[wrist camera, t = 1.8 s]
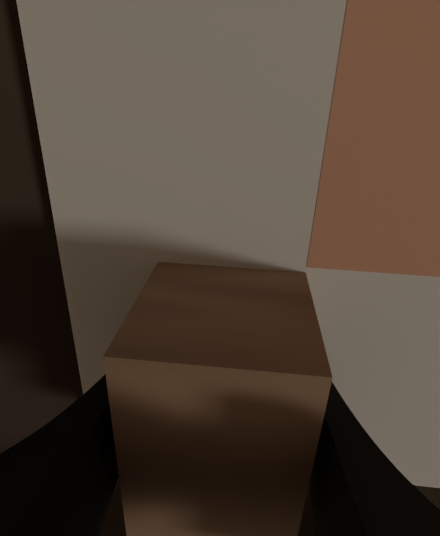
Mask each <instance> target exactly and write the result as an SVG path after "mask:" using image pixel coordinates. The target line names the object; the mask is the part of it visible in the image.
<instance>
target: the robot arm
mask: <svg viewBox="0 0 440 536" xmlns="http://www.w3.org/2000/svg"><path fill="white" fill-rule="evenodd" d="M118 477H119V474H118V467H117V459H116V451H115V443H114V436H113V428H112V420H111V413H110V405H109V397H108V390H107V382H106V374H105V375H104V376H103V377H102V378H101V379H100V380H98V381H97V382H96V383H95V384H94V385H93V386H92V387H91V388H90V389H89V390H88V391H87V392H85V393H84V394H83V395H82V396H81V397H80V398H79V399H77V400H76V401H75V402H74V403H73V404H71V405H70V406H69V407H68V408H67V409H66V410H64V411H63V412H62V413H60V414H59V415H58V416H57V417H55V418H54V419H53V420H51V421H50V422H49V423H47V424H46V425H45V426H43V427H42V428H40V429H39V430H38V431H36V432H35V433H33V434H32V435H30V436H28V437H27V438H25V439H24V440H22V441H20V442H19V443H17V444H16V445H14V446H13V447H11V448H9V449H8V450H6V451H4V452H3V453H1V454H0V536H99V535H100V532H101V528H102V525H103V522H104V518H105V515H106V512H107V508H108V505H109V502H110V498H111V496H112V493H113V490H114V487H115V484H116V482H117V479H118ZM309 488H310V493H311V499H312V505H313V511H314V518H315V527H316V536H440V510H439V509H438V508H437V507H436V506H435V505H434V504H433V503H431V502H430V501H429V500H428V499H427V498H426V497H425V496H424V495H423V494H422V493H421V492H420V491H419V490H418V489H417V488H416V487H415V486H414V485H413V484H412V483H411V482H410V481H409V480H408V479H407V478H406V477H405V476H404V475H403V474H402V473H401V472H400V471H399V470H398V469H397V468H396V467H395V466H394V464H393V463H392V462H391V461H390V460H389V459H388V458H387V457H386V455H385V454H384V453H383V452H382V451H381V450H380V448H379V447H378V446H377V445H376V444H375V442H374V441H373V440H372V438H371V437H370V436H369V435H368V433H367V432H366V431H365V429H364V428H363V427H362V425H361V424H360V423H359V421H358V420H357V418H356V417H355V416H354V414H353V413H352V411H351V410H350V409H349V407H348V406H347V404H346V403H345V401H344V400H343V398H342V396H341V395H340V393H339V392H338V390H337V389H336V387H335V385H334V384H333V382H332V383H331V387H330V392H329V396H328V401H327V405H326V410H325V414H324V419H323V424H322V428H321V433H320V437H319V442H318V446H317V451H316V455H315V460H314V464H313V469H312V473H311V478H310V483H309Z"/></svg>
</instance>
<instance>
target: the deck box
mask: <svg viewBox="0 0 440 536" xmlns="http://www.w3.org/2000/svg"><path fill="white" fill-rule="evenodd" d="M103 359H104V367H105V374H106V382H107V390H108V397H109V405H110V413H111V420H112V428H113V436H114V443H115V451H116V459H117V467H118V474H119V482H120V490H121V497H122V505H123V513H124V520H125V528H126V536H298V532H299V528H300V523H301V519H302V514H303V510H304V505H305V501H306V496H307V492H308V487H309V483H310V478H311V473H312V469H313V464H314V460H315V455H316V451H317V446H318V442H319V437H320V433H321V428H322V424H323V419H324V414H325V410H326V405H327V401H328V396H329V392H330V387H331V383H332V378H333V377H332V373H331V369H330V365H329V361H328V358H327V354H326V350H325V346H324V342H323V338H322V334H321V330H320V326H319V322H318V319H317V315H316V311H315V307H314V303H313V299H312V295H311V291H310V287H309V283H308V280H307V276H306V273H305V272H291V271H278V270H264V269H250V268H236V267H223V266H209V265H195V264H181V263H168V262H158V263H157V265H156V266H155V268H154V270H153V271H152V273H151V275H150V277H149V278H148V280H147V282H146V284H145V285H144V287H143V289H142V290H141V292H140V294H139V296H138V297H137V299H136V301H135V303H134V304H133V306H132V308H131V309H130V311H129V313H128V315H127V316H126V318H125V320H124V322H123V323H122V325H121V327H120V328H119V330H118V332H117V334H116V335H115V337H114V339H113V341H112V342H111V344H110V346H109V347H108V349H107V351H106V353H105V354H104V356H103Z"/></svg>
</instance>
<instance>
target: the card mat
mask: <svg viewBox="0 0 440 536" xmlns="http://www.w3.org/2000/svg"><path fill="white" fill-rule="evenodd" d="M16 2H17V8H18V14H19V20H20V26H21V31H22V37H23V43H24V49H25V55H26V61H27V67H28V73H29V79H30V84H31V90H32V96H33V102H34V108H35V114H36V120H37V126H38V132H39V137H40V143H41V149H42V155H43V161H44V167H45V173H46V179H47V184H48V190H49V196H50V202H51V208H52V214H53V220H54V226H55V232H56V237H57V243H58V249H59V255H60V261H61V267H62V273H63V279H64V285H65V290H66V296H67V302H68V308H69V314H70V320H71V326H72V332H73V338H74V343H75V349H76V355H77V361H78V367H79V373H80V379H81V385H82V390H83V394H84V393H85V392H87V391H88V390H89V389H90V388H91V387H92V386H93V385H94V384H95V383H96V382H97V381H98V380H100V379H101V378H102V377H103V376H104V375H105V367H104V359H103V356H104V354H105V353H106V351H107V349H108V347H109V346H110V344H111V342H112V341H113V339H114V337H115V335H116V334H117V332H118V330H119V328H120V327H121V325H122V323H123V322H124V320H125V318H126V316H127V315H128V313H129V311H130V309H131V308H132V306H133V304H134V303H135V301H136V299H137V297H138V296H139V294H140V292H141V290H142V289H143V287H144V285H145V284H146V282H147V280H148V278H149V277H150V275H151V273H152V271H153V270H154V268H155V266H156V265H157V263H158V262H168V263H181V264H195V265H209V266H223V267H236V268H250V269H264V270H278V271H291V272H305V273H306V276H307V280H308V283H309V287H310V291H311V295H312V299H313V303H314V307H315V311H316V315H317V319H318V322H319V326H320V330H321V334H322V338H323V342H324V346H325V350H326V354H327V358H328V361H329V365H330V369H331V373H332V377H333V378H332V382H333V384H334V385H335V387H336V389H337V390H338V392H339V393H340V395H341V396H342V398H343V400H344V401H345V403H346V404H347V406H348V407H349V409H350V410H351V411H352V413H353V414H354V416H355V417H356V418H357V420H358V421H359V423H360V424H361V425H362V427H363V428H364V429H365V431H366V432H367V433H368V435H369V436H370V437H371V438H372V440H373V441H374V442H375V444H376V445H377V446H378V447H379V448H380V450H381V451H382V452H383V453H384V454H385V455H386V457H387V458H388V459H389V460H390V461H391V462H392V463H393V464H394V466H395V467H396V468H397V469H398V470H399V471H400V472H401V473H402V474H403V475H404V476H405V477H406V478H407V479H408V480H409V481H410V482H411V483H412V484H413V485H417V486H426V487H435V488H440V0H16Z"/></svg>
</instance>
